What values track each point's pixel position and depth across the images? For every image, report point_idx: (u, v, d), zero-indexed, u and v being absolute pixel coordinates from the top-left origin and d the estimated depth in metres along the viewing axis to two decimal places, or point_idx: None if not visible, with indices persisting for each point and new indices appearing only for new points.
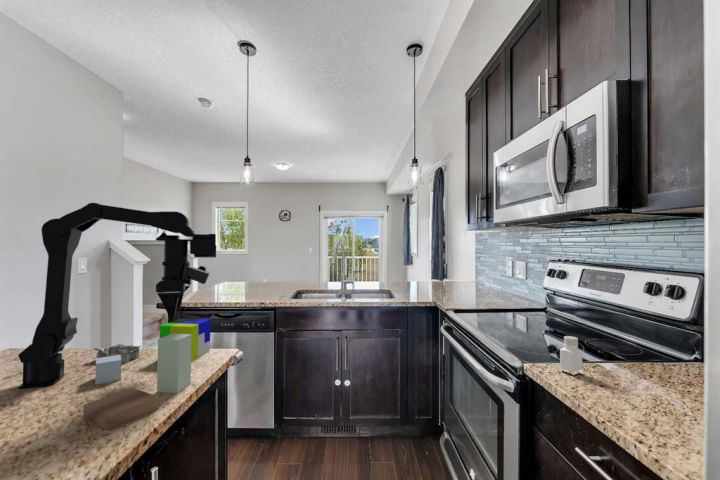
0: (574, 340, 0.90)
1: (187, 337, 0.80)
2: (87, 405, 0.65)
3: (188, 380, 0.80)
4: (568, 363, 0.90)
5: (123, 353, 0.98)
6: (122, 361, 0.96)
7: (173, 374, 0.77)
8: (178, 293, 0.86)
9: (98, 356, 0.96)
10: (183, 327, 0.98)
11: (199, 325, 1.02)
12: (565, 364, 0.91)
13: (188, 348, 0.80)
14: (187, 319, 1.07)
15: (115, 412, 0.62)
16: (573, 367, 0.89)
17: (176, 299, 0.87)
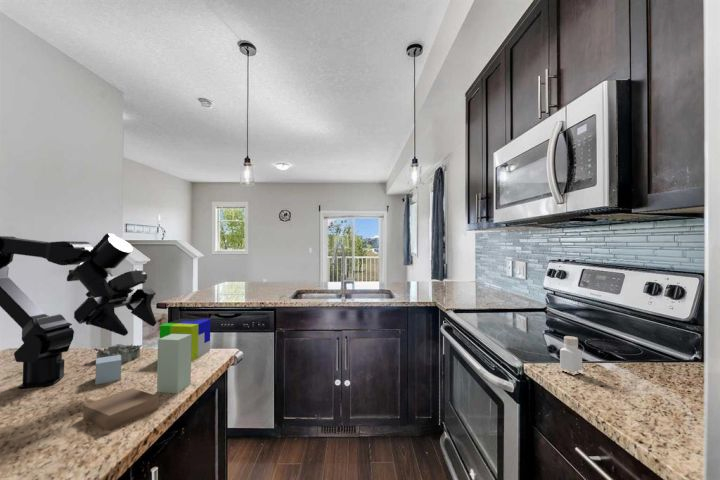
0: (574, 340, 0.90)
1: (187, 337, 0.80)
2: (87, 405, 0.65)
3: (188, 380, 0.80)
4: (568, 363, 0.90)
5: (124, 352, 0.98)
6: (124, 360, 0.96)
7: (173, 374, 0.77)
8: (99, 309, 0.73)
9: (99, 356, 0.96)
10: (183, 327, 0.98)
11: (199, 325, 1.02)
12: (565, 364, 0.91)
13: (188, 348, 0.80)
14: (187, 319, 1.08)
15: (115, 412, 0.62)
16: (573, 367, 0.89)
17: (109, 316, 0.74)
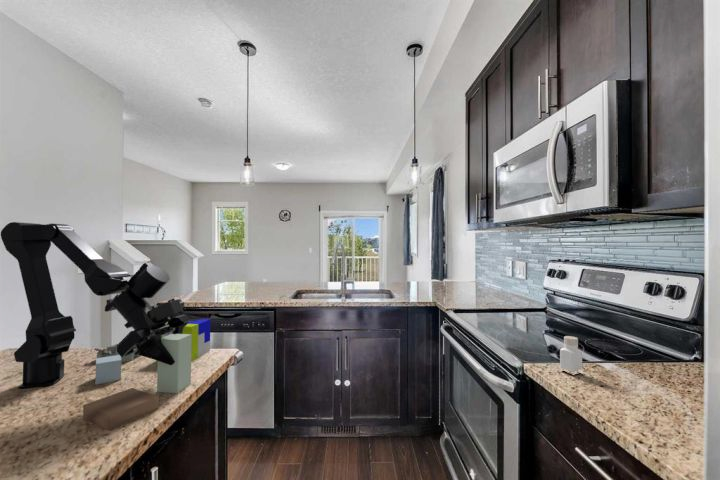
0: (574, 340, 0.90)
1: (187, 337, 0.80)
2: (87, 405, 0.65)
3: (188, 379, 0.80)
4: (568, 363, 0.90)
5: None
6: (127, 359, 0.97)
7: (173, 373, 0.77)
8: (148, 340, 0.73)
9: (100, 356, 0.96)
10: None
11: (199, 325, 1.02)
12: (565, 364, 0.91)
13: (188, 348, 0.80)
14: None
15: (116, 412, 0.62)
16: (573, 367, 0.89)
17: (157, 346, 0.75)
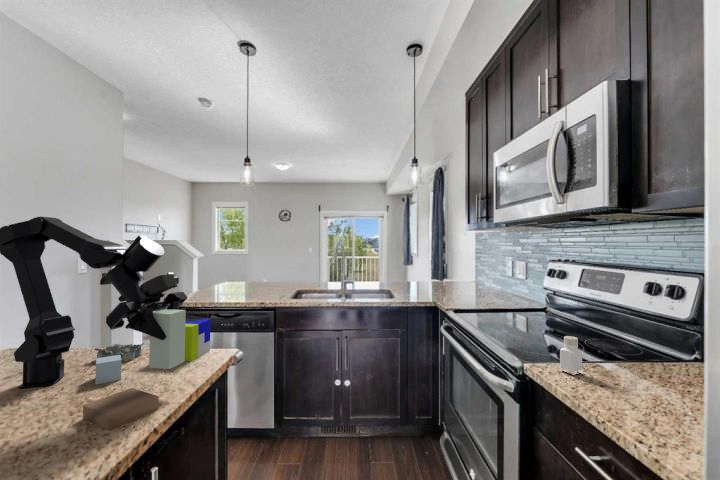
0: (574, 340, 0.90)
1: (180, 312, 0.77)
2: (87, 405, 0.65)
3: (181, 356, 0.78)
4: (568, 363, 0.90)
5: (127, 351, 0.99)
6: (128, 359, 0.98)
7: (164, 349, 0.74)
8: (139, 313, 0.71)
9: (100, 356, 0.96)
10: None
11: (199, 325, 1.02)
12: (565, 364, 0.91)
13: (182, 324, 0.78)
14: (187, 319, 1.07)
15: (116, 412, 0.62)
16: (573, 367, 0.89)
17: (148, 319, 0.73)
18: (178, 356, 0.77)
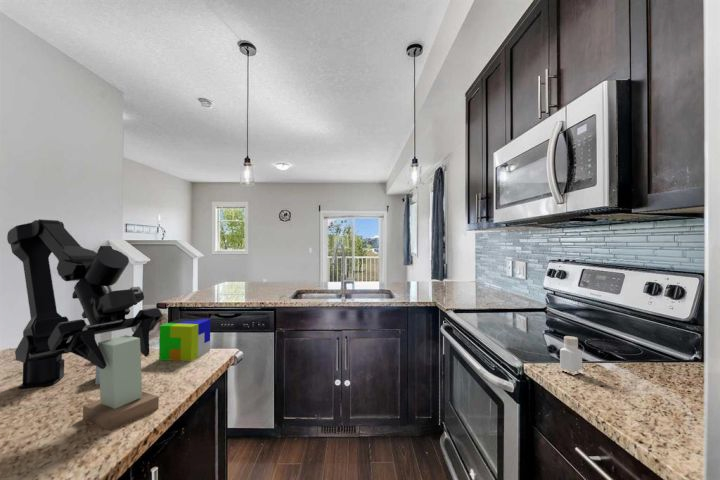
0: (574, 340, 0.90)
1: (131, 342, 0.66)
2: (87, 406, 0.65)
3: (136, 392, 0.67)
4: (568, 363, 0.90)
5: None
6: None
7: (110, 385, 0.64)
8: (73, 336, 0.61)
9: None
10: (183, 327, 0.98)
11: (199, 325, 1.02)
12: (565, 364, 0.91)
13: (134, 355, 0.67)
14: (187, 319, 1.07)
15: (116, 412, 0.62)
16: (573, 367, 0.89)
17: (86, 344, 0.63)
18: (131, 392, 0.66)
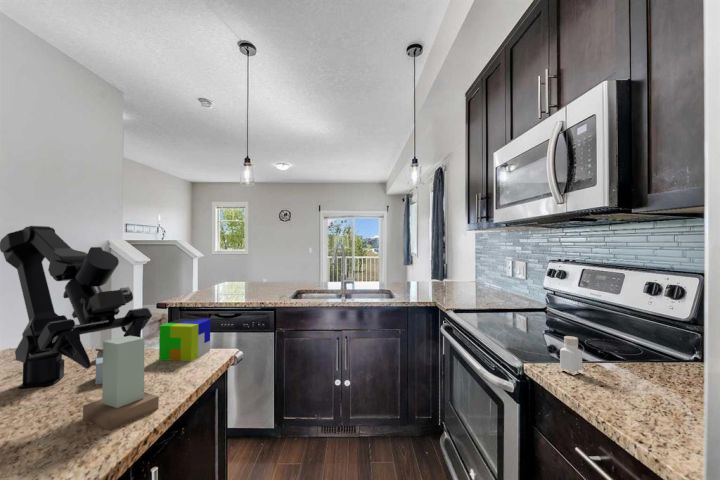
0: (574, 340, 0.90)
1: (136, 341, 0.67)
2: (87, 406, 0.65)
3: (138, 392, 0.67)
4: (568, 363, 0.90)
5: None
6: None
7: (113, 384, 0.64)
8: (58, 336, 0.63)
9: (101, 356, 0.97)
10: (183, 327, 0.98)
11: (199, 325, 1.02)
12: (565, 364, 0.91)
13: (138, 354, 0.67)
14: (187, 319, 1.08)
15: (116, 412, 0.62)
16: (573, 367, 0.89)
17: (71, 344, 0.64)
18: (133, 392, 0.66)
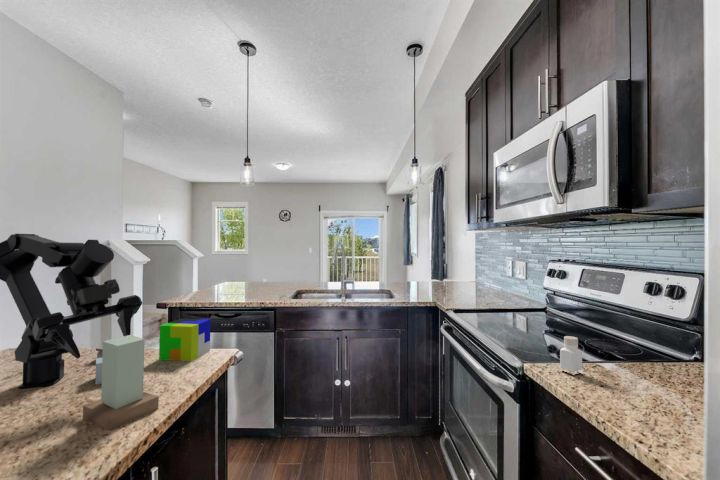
0: (574, 340, 0.90)
1: (136, 342, 0.66)
2: (87, 406, 0.65)
3: (137, 393, 0.67)
4: (568, 363, 0.90)
5: None
6: None
7: (112, 385, 0.64)
8: (48, 330, 0.67)
9: None
10: (183, 327, 0.98)
11: (199, 325, 1.02)
12: (565, 364, 0.91)
13: (138, 355, 0.67)
14: (187, 319, 1.08)
15: (116, 412, 0.62)
16: (573, 367, 0.89)
17: (61, 337, 0.68)
18: (132, 393, 0.66)
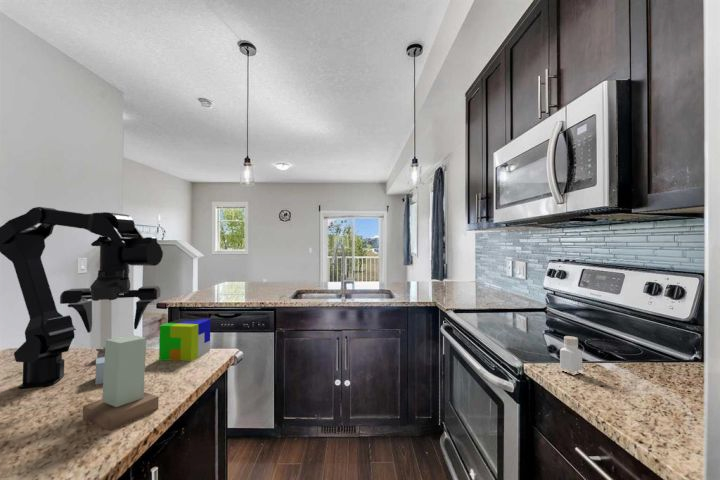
0: (574, 340, 0.90)
1: (137, 341, 0.67)
2: (87, 406, 0.65)
3: (138, 392, 0.67)
4: (568, 363, 0.90)
5: None
6: None
7: (114, 383, 0.65)
8: None
9: (103, 356, 0.97)
10: (183, 327, 0.98)
11: (199, 325, 1.02)
12: (565, 364, 0.91)
13: (139, 354, 0.68)
14: (187, 319, 1.08)
15: (116, 412, 0.62)
16: (573, 367, 0.89)
17: None
18: (132, 392, 0.67)
